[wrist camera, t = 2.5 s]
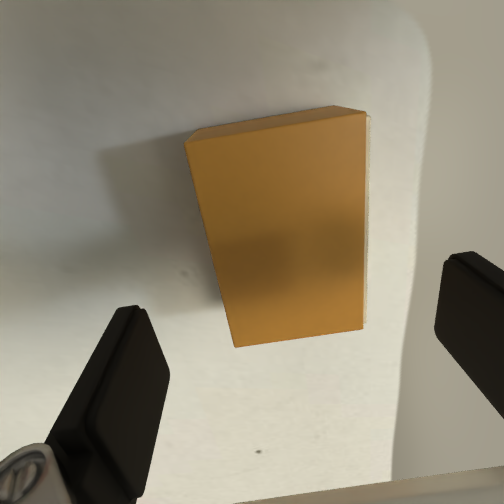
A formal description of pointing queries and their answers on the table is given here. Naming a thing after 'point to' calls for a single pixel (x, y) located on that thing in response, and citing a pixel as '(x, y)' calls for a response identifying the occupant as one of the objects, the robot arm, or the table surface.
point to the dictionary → (287, 221)
